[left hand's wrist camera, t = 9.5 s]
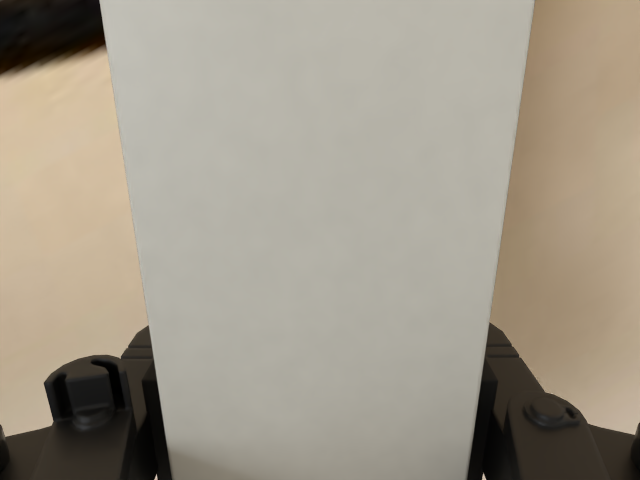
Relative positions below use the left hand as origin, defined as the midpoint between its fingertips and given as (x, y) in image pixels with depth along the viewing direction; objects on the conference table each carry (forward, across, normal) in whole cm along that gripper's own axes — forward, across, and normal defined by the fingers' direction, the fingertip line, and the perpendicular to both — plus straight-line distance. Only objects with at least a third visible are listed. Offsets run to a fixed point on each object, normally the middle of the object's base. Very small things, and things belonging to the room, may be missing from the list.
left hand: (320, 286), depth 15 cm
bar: (+1, 0, -24) cm, 24 cm away
